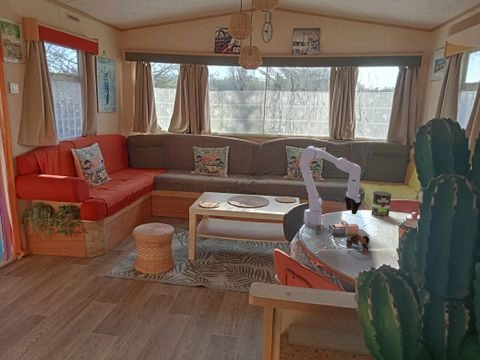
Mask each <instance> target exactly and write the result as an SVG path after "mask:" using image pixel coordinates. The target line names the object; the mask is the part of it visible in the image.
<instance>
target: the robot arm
mask: <svg viewBox="0 0 480 360" xmlns="http://www.w3.org/2000/svg"><path fill="white" fill-rule="evenodd" d="M314 158H315V159H320V158H321V159H323V160H326V161H328V162H330V163H332V164H334V165H335V167H336V168H337V169H339V170H341V171H343V172H345V173H348V174H349V177H348V183H347V191H345V196H344V197H343V199H344V201H345V206H346V210H347V211H351V214H352V215H357V213H358V210H359V208H360V206H361V205H362V201H361V197H362V195H360V183H361V173H362V169H361V166H360V165H359V164H357V163H355V162H351V161H349V160H347V158H346V157H340V158H339V157H336V156H334V155H332V154H330V153H328V151H325V150H323V149H322V148H320V147H316V146H314V145H309V146H307V147H306V148H305V149H304V150H303V151H302V152H301V156H300V159H299V162H298V165H299V169H300V172H301V175H302V178H303V181H304V184H305V188H306V192H307V193H308V194H307V195H308V209H304V211H303V212H304V213H303V223H304V224H305V225H306V226H321V225H322V219H323V217H322V216H323V215H322V214H323V208H322V207H321V206H322V205H323V198H322V197H321V196H320V195H319V194H320V193H319V192H318V190H317V187H316V184H315V181H314V178H313V175H312V170H311V168H310V163H311V161H312V159H314Z"/></svg>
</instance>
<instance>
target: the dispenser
mask: <svg viewBox="0 0 480 360" xmlns="http://www.w3.org/2000/svg"><path fill="white" fill-rule="evenodd" d="M334 224H335V223H328V228H327V231H328V232H329V233H330V234H331V235H332V236H333V237H352V236H354V235H360V236H361V237H363V236H368V237H370V234H369V233H368V232H367V231H365V230H364V229H363V228H359V230H358V234H347V233H348V224H349V223H348V222H347V221H346V220H345V219H344V218H341V220H340V224H345V228H334Z"/></svg>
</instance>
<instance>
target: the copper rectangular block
mask: <svg viewBox="0 0 480 360" xmlns="http://www.w3.org/2000/svg"><path fill="white" fill-rule="evenodd" d="M333 224H334V228H345V224H341V223H333ZM359 229H360V226H359V225H358V224H357V223H348V233H347V234H358V230H359Z"/></svg>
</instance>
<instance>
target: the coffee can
mask: <svg viewBox="0 0 480 360" xmlns="http://www.w3.org/2000/svg"><path fill="white" fill-rule="evenodd" d="M391 199H392V193H390V192H388V191H378V190H377V191H373V193H372V204H371V213H370V215H371V216H372V217H375V218H378V219H379V218H380V219H388V218H389V216H390V209H391V208H390V207H391V202H392V201H391Z"/></svg>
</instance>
